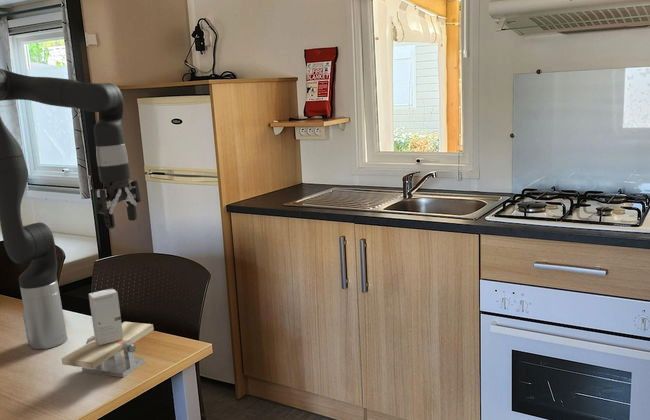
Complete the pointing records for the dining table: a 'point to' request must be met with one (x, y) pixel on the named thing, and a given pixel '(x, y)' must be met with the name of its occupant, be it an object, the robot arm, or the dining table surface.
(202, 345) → the dining table surface
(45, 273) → the robot arm
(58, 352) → the dining table surface
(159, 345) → the dining table surface
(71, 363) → the balance beam
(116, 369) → the pivot stand
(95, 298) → the skincare box
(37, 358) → the dining table surface
